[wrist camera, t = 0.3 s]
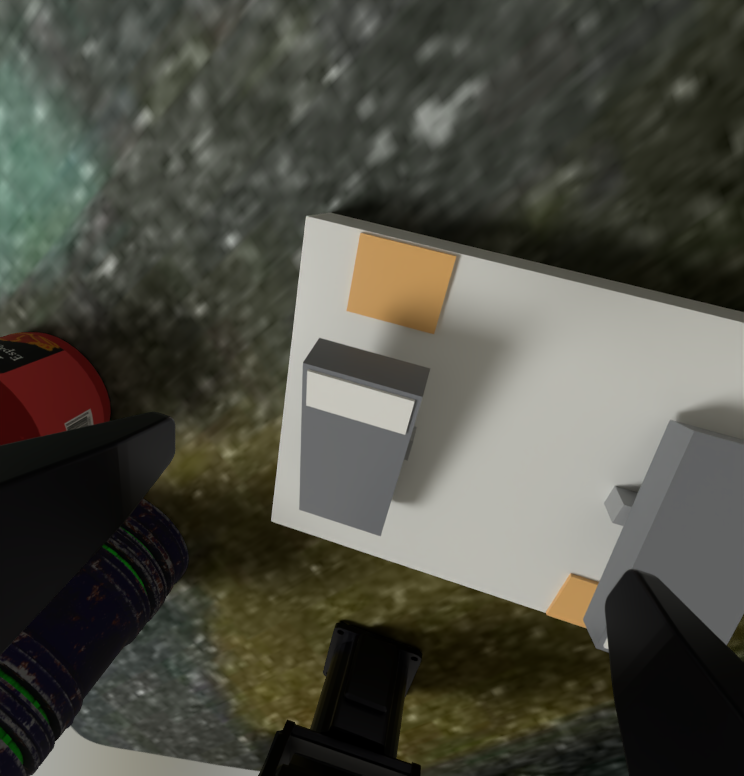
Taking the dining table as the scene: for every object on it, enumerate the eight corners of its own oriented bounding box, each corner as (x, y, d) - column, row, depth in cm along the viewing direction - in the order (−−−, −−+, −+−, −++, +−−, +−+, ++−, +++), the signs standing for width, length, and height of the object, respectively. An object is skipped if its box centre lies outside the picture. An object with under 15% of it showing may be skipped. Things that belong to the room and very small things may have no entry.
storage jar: (130, 469, 28) (-174, 713, 15) (215, 571, 31) (21, 854, 18) (51, 506, 32) (-247, 726, 19) (132, 594, 35) (-78, 840, 21)
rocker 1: (388, 508, 20) (380, 538, 19) (311, 484, 20) (298, 511, 19) (430, 368, 14) (422, 399, 13) (319, 337, 14) (301, 364, 13)
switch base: (622, 593, 23) (649, 669, 20) (292, 487, 25) (261, 537, 22) (819, 330, 16) (924, 372, 12) (330, 212, 18) (293, 217, 14)
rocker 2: (682, 652, 17) (707, 687, 15) (582, 619, 17) (597, 650, 16) (785, 451, 15) (825, 467, 13) (670, 419, 15) (696, 431, 14)
